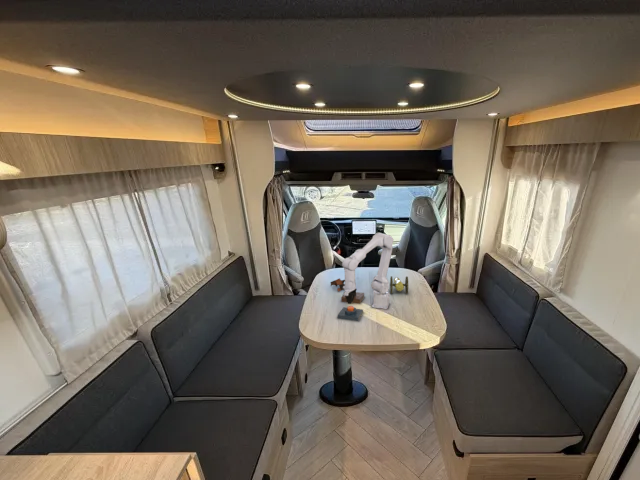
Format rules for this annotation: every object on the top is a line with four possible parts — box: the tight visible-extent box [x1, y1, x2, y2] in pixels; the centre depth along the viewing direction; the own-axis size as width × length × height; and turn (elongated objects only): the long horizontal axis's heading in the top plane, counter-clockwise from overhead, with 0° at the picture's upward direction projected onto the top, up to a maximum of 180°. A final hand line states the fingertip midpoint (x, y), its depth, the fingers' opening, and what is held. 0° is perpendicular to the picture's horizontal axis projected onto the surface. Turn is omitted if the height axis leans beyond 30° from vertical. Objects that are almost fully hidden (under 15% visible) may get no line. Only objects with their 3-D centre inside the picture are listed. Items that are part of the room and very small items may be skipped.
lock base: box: [340, 291, 365, 305], centre depth 195 cm, size 12×10×3 cm
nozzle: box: [346, 305, 355, 311], centre depth 174 cm, size 4×4×2 cm
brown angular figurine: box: [329, 278, 345, 293], centre depth 211 cm, size 12×10×8 cm
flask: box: [337, 306, 364, 322], centre depth 175 cm, size 12×10×4 cm
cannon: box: [389, 275, 409, 295], centre depth 208 cm, size 25×12×11 cm, turn 179°
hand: (350, 302), depth 173 cm, fingers open, 3 cm apart
